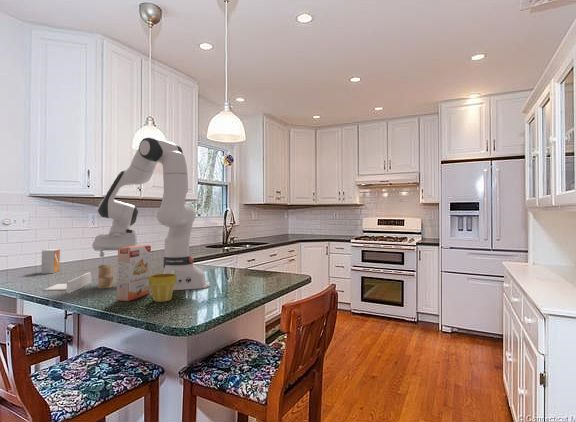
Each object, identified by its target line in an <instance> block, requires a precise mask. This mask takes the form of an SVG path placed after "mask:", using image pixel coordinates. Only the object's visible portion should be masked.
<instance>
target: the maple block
mask: <svg viewBox="0 0 576 422" xmlns="http://www.w3.org/2000/svg"><path fill="white" fill-rule="evenodd" d="M97 276H98V277H97V278H98V279H97V281H98V282H97V284H98V287H97V288H98V289H108V288H109V289H111V288H112V287H113V286H114V285H113V284H114V264H100V265H98V275H97Z"/></svg>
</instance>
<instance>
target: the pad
mask: <svg viewBox="0 0 576 422" xmlns="http://www.w3.org/2000/svg"><path fill="white" fill-rule="evenodd" d="M43 291H44V292H47V291H48V292H50V291H55V292H56V291H67V283H56V284H54V285H52V286H49V287H46V288H44V289H43Z"/></svg>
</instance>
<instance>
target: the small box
mask: <svg viewBox="0 0 576 422" xmlns="http://www.w3.org/2000/svg"><path fill="white" fill-rule="evenodd" d="M60 253H61V249H60V248H55V249H54V248H49V249H43V250H41V272H40V273H41V274H54V273H57V272H58V273H59V272H60V261H61V260H60V258H61V257H60Z"/></svg>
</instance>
